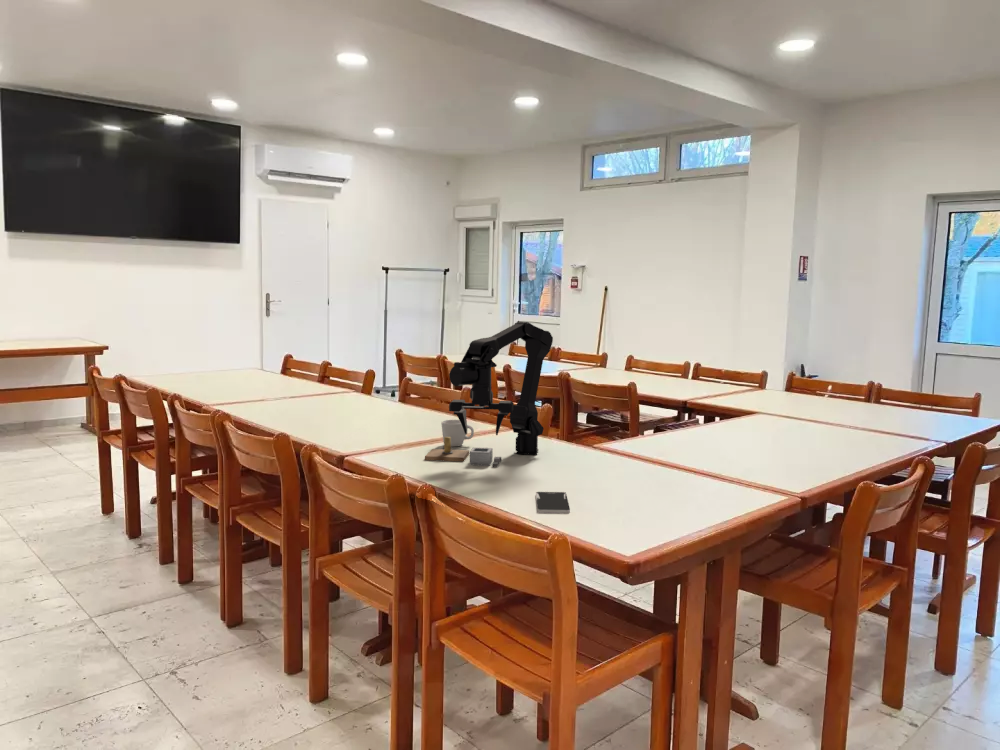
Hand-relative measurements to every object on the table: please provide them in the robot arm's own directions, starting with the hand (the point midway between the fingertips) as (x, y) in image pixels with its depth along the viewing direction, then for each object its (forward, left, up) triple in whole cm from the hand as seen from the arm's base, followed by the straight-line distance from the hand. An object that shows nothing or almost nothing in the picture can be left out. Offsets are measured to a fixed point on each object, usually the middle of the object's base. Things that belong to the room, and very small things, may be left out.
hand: (481, 434), depth 219 cm
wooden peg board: (+12, -6, -9) cm, 16 cm away
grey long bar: (-5, 0, -9) cm, 10 cm away
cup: (+12, -23, -9) cm, 27 cm away
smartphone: (-23, +38, -9) cm, 46 cm away
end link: (0, 0, -9) cm, 9 cm away
